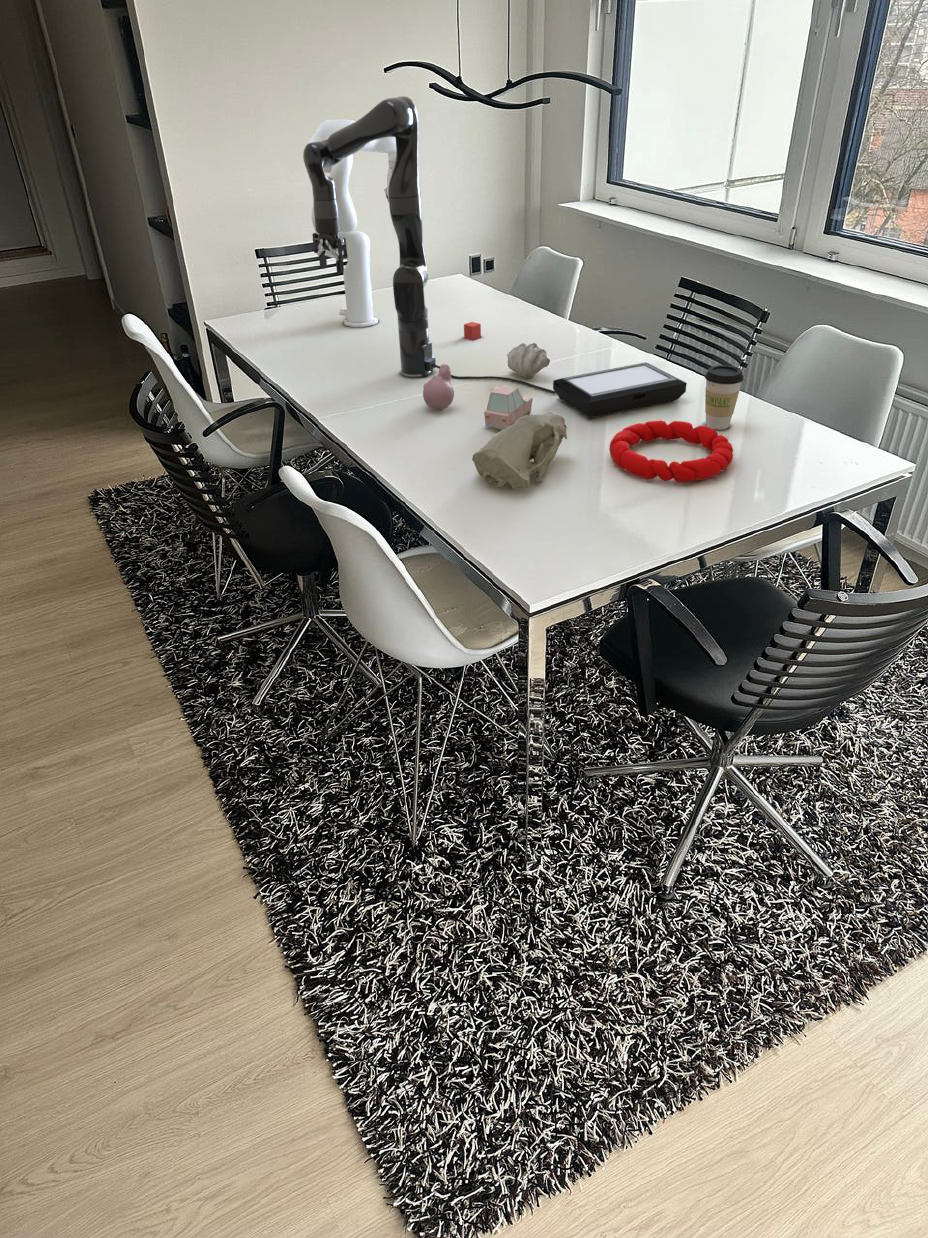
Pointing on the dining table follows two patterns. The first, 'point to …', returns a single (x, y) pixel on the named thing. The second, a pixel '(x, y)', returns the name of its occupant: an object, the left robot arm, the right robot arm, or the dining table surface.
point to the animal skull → (521, 450)
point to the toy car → (506, 407)
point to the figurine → (439, 389)
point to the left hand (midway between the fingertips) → (402, 215)
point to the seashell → (527, 359)
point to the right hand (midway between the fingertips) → (332, 270)
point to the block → (472, 330)
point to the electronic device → (619, 389)
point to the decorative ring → (676, 471)
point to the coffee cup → (721, 395)
